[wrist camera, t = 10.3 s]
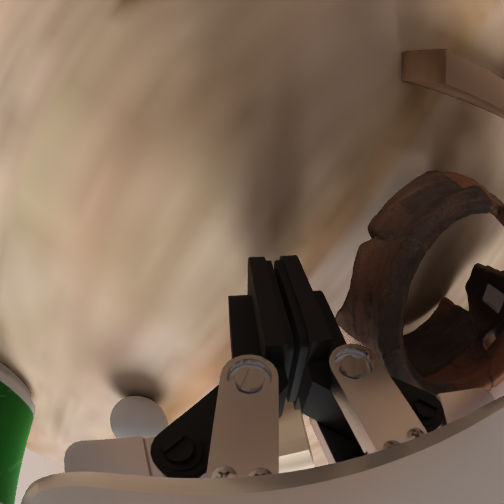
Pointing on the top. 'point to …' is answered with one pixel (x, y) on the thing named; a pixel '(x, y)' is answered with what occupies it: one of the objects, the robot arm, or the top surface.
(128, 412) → the grey ball
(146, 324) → the top surface
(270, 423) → the robot arm
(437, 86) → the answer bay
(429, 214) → the pottery mug
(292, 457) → the birch block
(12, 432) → the soda can
